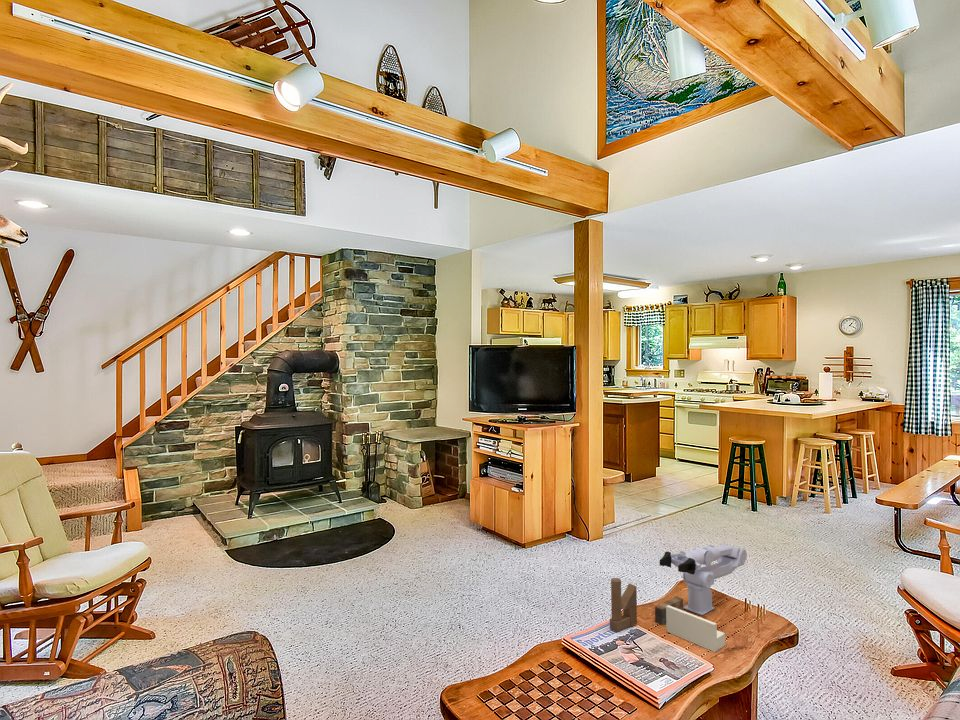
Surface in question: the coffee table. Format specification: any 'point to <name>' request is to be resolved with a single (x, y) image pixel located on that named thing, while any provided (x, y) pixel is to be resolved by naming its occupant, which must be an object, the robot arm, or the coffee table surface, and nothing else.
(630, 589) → the brown upright shaped block
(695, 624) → the stepped cream panel
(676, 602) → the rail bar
